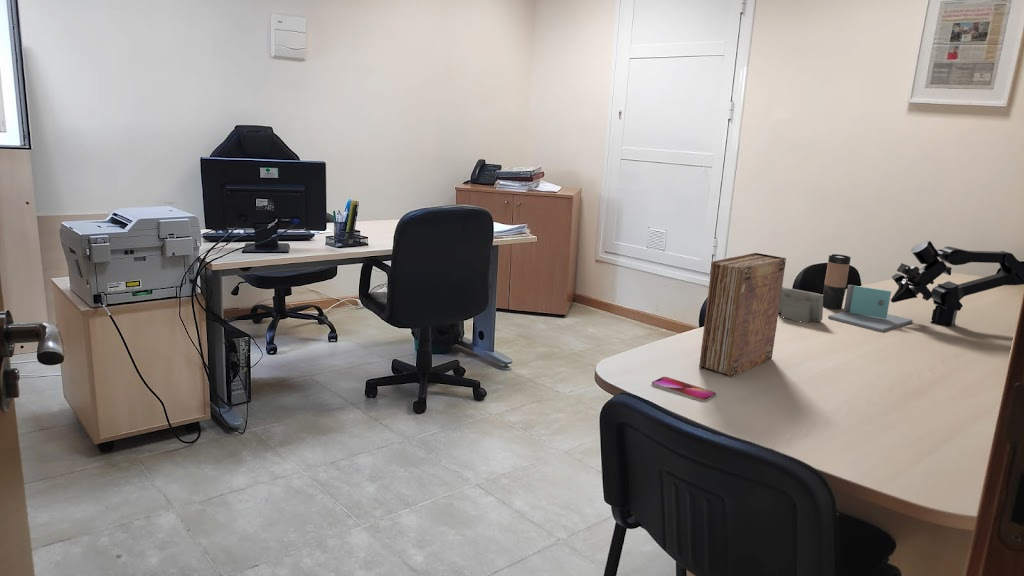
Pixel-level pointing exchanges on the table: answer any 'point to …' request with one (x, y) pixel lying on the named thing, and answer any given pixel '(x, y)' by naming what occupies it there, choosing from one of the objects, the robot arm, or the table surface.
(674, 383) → the smartphone
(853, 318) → the base board
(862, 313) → the door
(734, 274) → the book
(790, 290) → the digital clock
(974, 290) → the robot arm
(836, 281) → the travel mug
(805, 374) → the table surface
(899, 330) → the table surface
